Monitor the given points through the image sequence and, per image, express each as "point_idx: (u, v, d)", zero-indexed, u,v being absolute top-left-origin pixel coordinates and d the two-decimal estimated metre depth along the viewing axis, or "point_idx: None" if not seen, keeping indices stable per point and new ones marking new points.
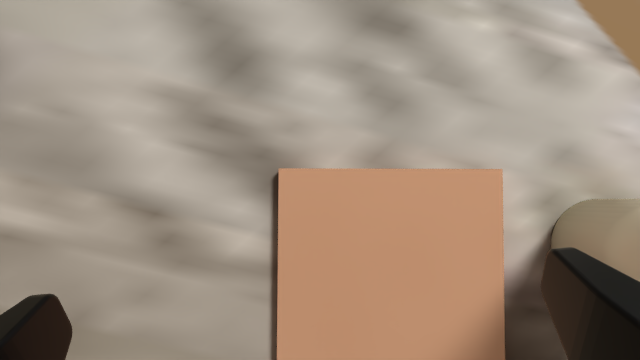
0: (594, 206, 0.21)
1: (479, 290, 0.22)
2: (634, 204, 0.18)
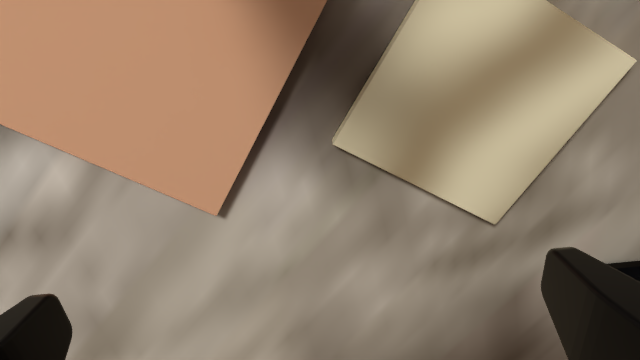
0: None
1: None
2: None
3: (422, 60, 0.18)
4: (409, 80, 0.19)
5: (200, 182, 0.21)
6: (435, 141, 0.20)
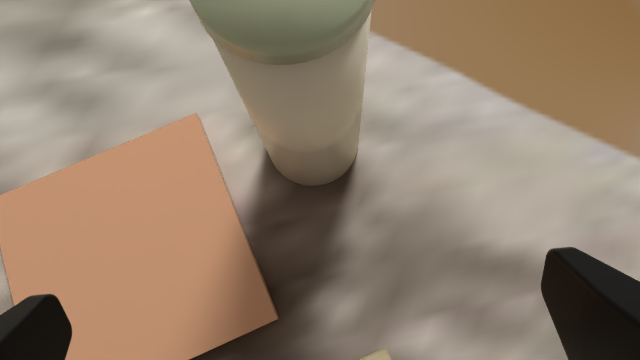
0: None
1: (213, 227, 0.22)
2: None
3: None
4: None
5: None
6: None
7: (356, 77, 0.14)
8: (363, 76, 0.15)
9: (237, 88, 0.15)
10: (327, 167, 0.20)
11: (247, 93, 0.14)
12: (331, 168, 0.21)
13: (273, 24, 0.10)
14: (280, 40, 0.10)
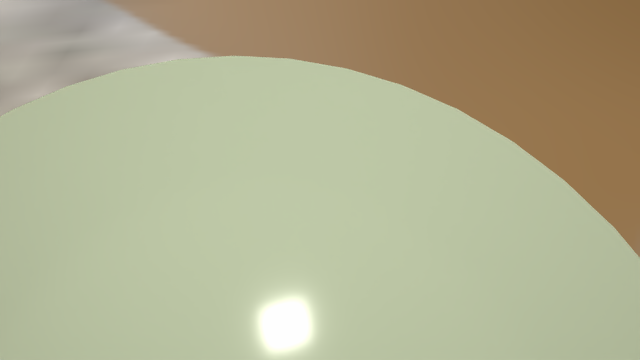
0: None
1: None
2: None
3: None
4: None
5: None
6: None
7: None
8: None
9: None
10: None
11: None
12: None
13: None
14: None
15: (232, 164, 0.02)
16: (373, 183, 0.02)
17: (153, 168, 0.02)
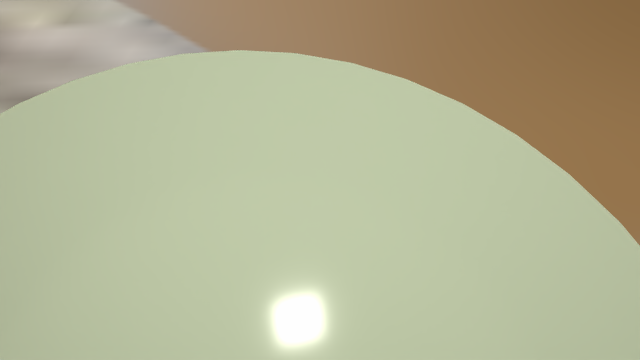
0: None
1: None
2: None
3: None
4: None
5: None
6: None
7: None
8: None
9: None
10: None
11: None
12: None
13: None
14: None
15: (238, 157, 0.02)
16: (378, 176, 0.02)
17: (159, 161, 0.02)
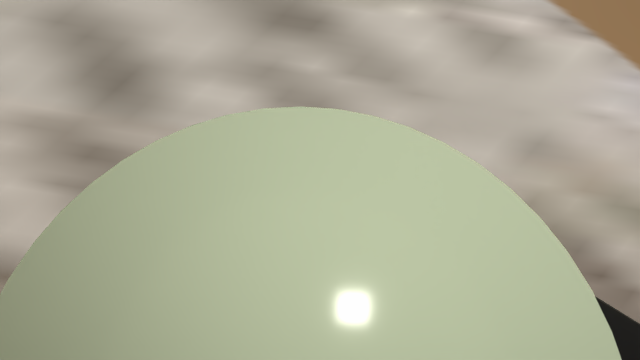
0: None
1: None
2: None
3: None
4: None
5: None
6: None
7: None
8: None
9: None
10: None
11: None
12: None
13: None
14: None
15: (303, 176, 0.04)
16: (392, 189, 0.04)
17: (252, 178, 0.04)
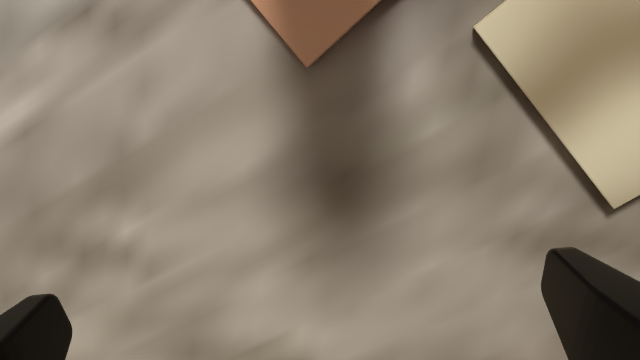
0: None
1: None
2: None
3: None
4: None
5: (309, 18, 0.18)
6: (593, 69, 0.17)
7: None
8: None
9: None
10: None
11: None
12: None
13: None
14: None
15: None
16: None
17: None
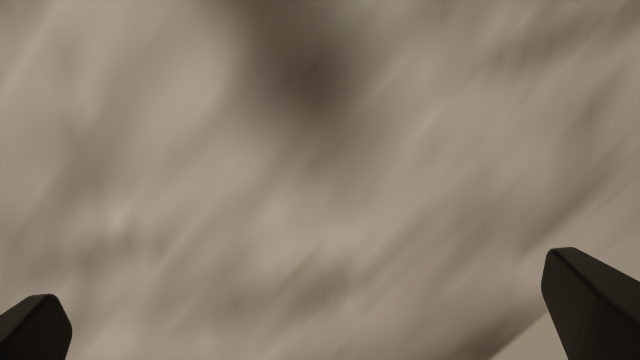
0: None
1: None
2: None
3: None
4: None
5: None
6: None
7: None
8: None
9: None
10: None
11: None
12: None
13: None
14: None
15: None
16: None
17: None
